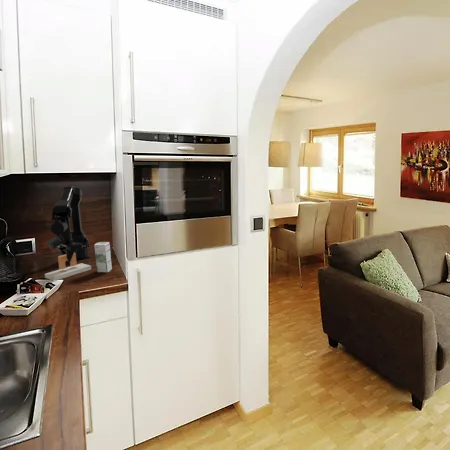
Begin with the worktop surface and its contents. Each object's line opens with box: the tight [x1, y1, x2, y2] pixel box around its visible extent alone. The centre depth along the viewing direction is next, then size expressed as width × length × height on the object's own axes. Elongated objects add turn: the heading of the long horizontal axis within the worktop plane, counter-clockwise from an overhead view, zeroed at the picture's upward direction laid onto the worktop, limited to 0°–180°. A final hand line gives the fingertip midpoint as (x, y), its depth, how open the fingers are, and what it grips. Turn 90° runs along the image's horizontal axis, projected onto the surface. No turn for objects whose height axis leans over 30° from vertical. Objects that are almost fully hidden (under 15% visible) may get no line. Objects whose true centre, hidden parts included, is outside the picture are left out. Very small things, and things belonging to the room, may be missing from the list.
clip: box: [57, 253, 78, 270], centre depth 182 cm, size 8×2×6 cm, turn 145°
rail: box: [44, 262, 92, 281], centre depth 183 cm, size 20×8×2 cm, turn 145°
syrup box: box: [94, 241, 113, 273], centre depth 185 cm, size 6×6×14 cm
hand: (67, 261), depth 182 cm, fingers closed on clip, 2 cm apart
